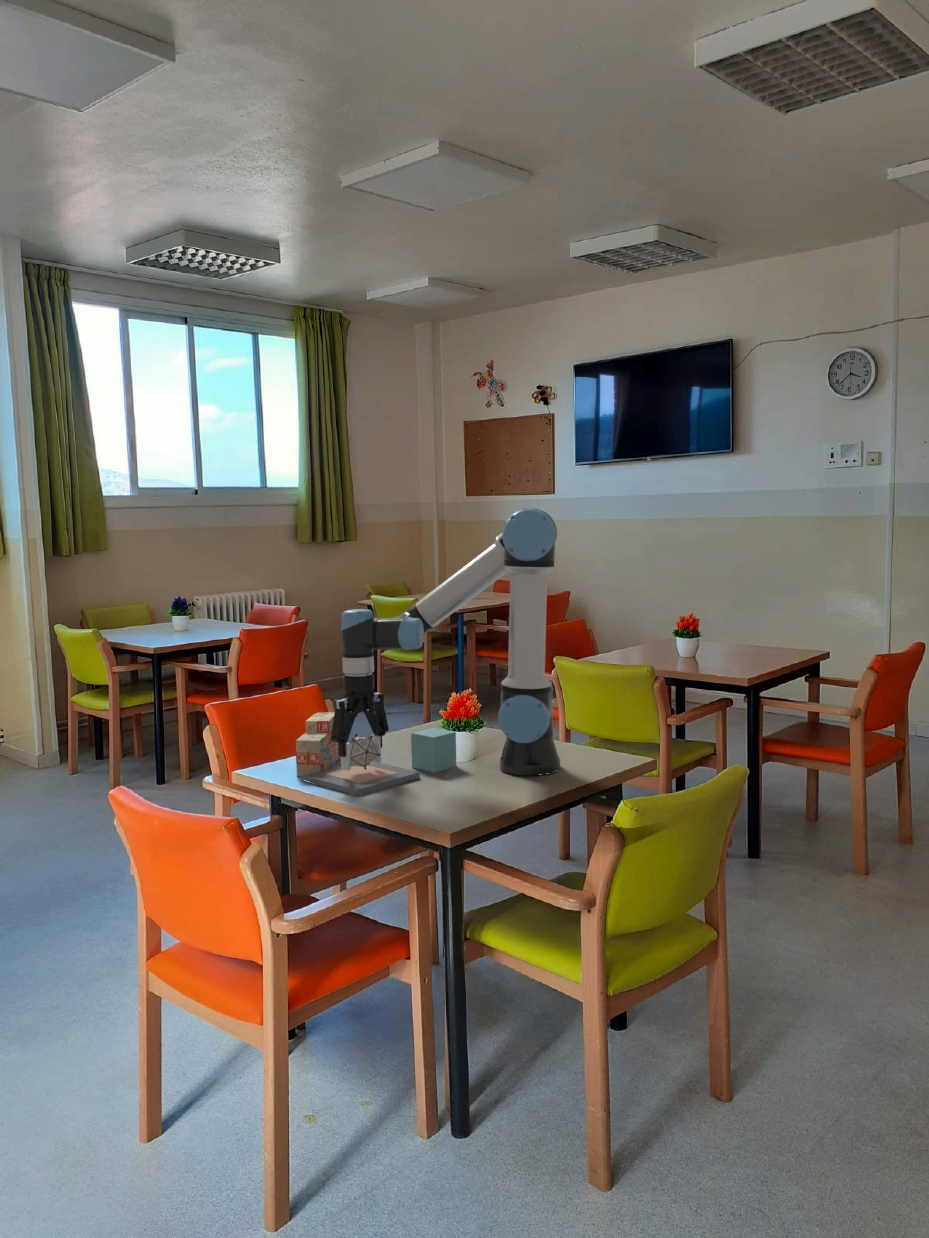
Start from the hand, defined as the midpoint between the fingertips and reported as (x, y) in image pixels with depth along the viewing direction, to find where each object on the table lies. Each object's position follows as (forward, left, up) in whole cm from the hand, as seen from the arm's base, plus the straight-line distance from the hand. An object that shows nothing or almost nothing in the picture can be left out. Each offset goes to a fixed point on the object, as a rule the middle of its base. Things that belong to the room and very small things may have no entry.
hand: (361, 765), depth 233 cm
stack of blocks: (+19, -2, -4) cm, 19 cm away
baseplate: (0, 0, -4) cm, 4 cm away
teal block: (-5, -20, -4) cm, 21 cm away
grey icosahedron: (0, 0, -1) cm, 1 cm away
